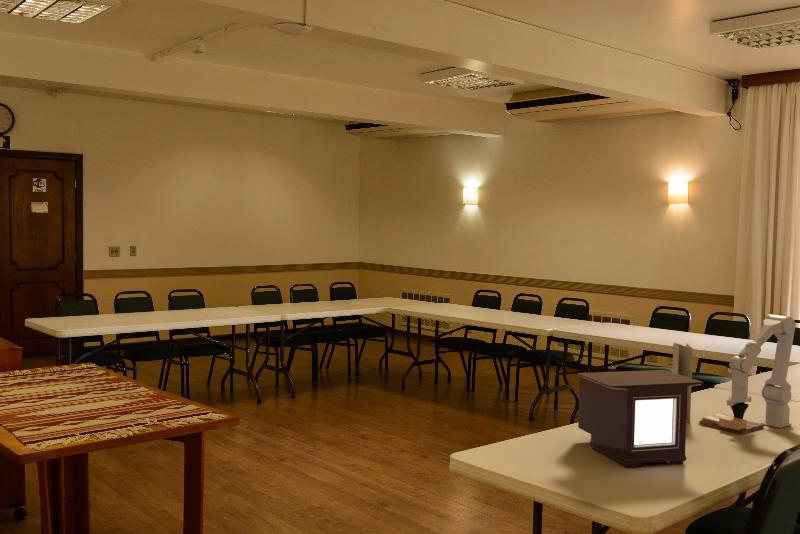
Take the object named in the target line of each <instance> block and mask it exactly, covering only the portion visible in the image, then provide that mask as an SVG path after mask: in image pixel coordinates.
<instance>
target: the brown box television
mask: <svg viewBox="0 0 800 534" xmlns="http://www.w3.org/2000/svg"><path fill="white" fill-rule="evenodd" d="M576 375H577V376H578V377H579V385H578V387H579V389H578V390H579V391H578V422H577V424H578V426H577V427H578V429H580V430H581V431H584V432H586V433H588V434H589V435H590V441H589V445H590V447H591V450H593V449H594V450H593V451H595V452H597V453H599V454H601V455H602V456H604V457H606V458H607V459H609V460H611V461H614V462H615V463H617V464H619V466H620V465H621V466H622V467H624V468H626V469H632V468H633V469H634V468H635V469H636V468H642V464H649V463H664V464H667V465H668V466H673V465H684V462H685V461H687V456H686V443H687V442H686V440H687V439H686V438H687V421H686V417H687V389H688V387H690V386H691V387H694V386H696V387H697V386H701V385H703V384H704V383H705V382H704V381H701V380H698V379H695V378H689V377H686V376H682V375H679V374H676V373H673V372H672V371H669V370H666V369H656V370H653V369H651V370H627V371H625V370H624V371H601V372H600V371H597V372H577V373H576Z"/></svg>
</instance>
